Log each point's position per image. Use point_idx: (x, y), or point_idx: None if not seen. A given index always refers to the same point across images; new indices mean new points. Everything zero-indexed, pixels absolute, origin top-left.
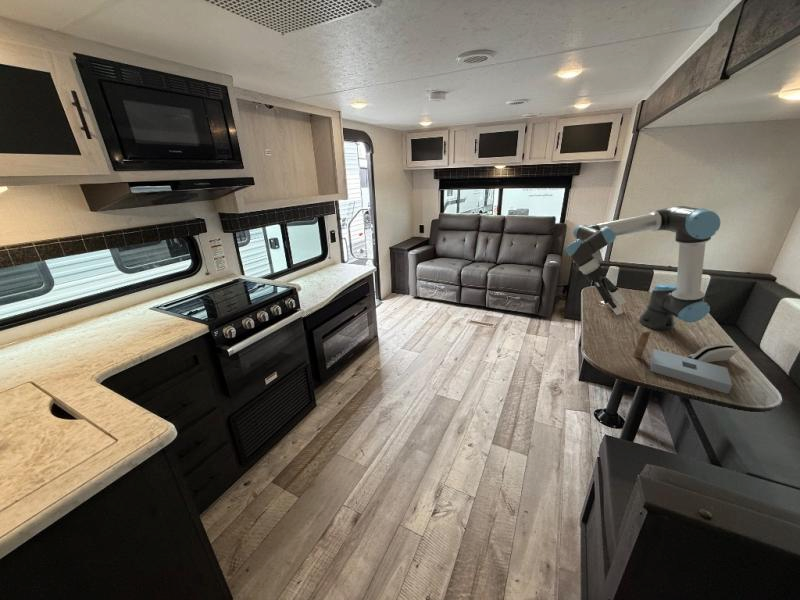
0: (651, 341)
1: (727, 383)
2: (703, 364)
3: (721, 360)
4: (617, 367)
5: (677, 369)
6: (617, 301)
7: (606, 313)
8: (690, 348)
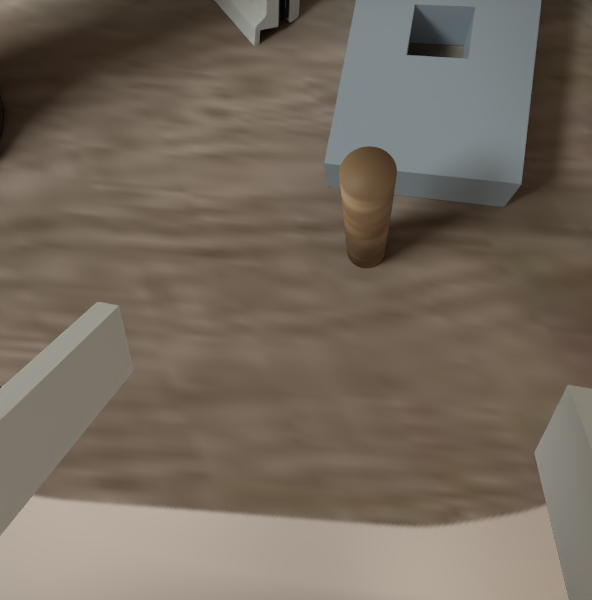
0: (150, 169)
1: None
2: None
3: None
4: (564, 363)
5: (526, 83)
6: (98, 409)
7: None
8: (158, 25)
